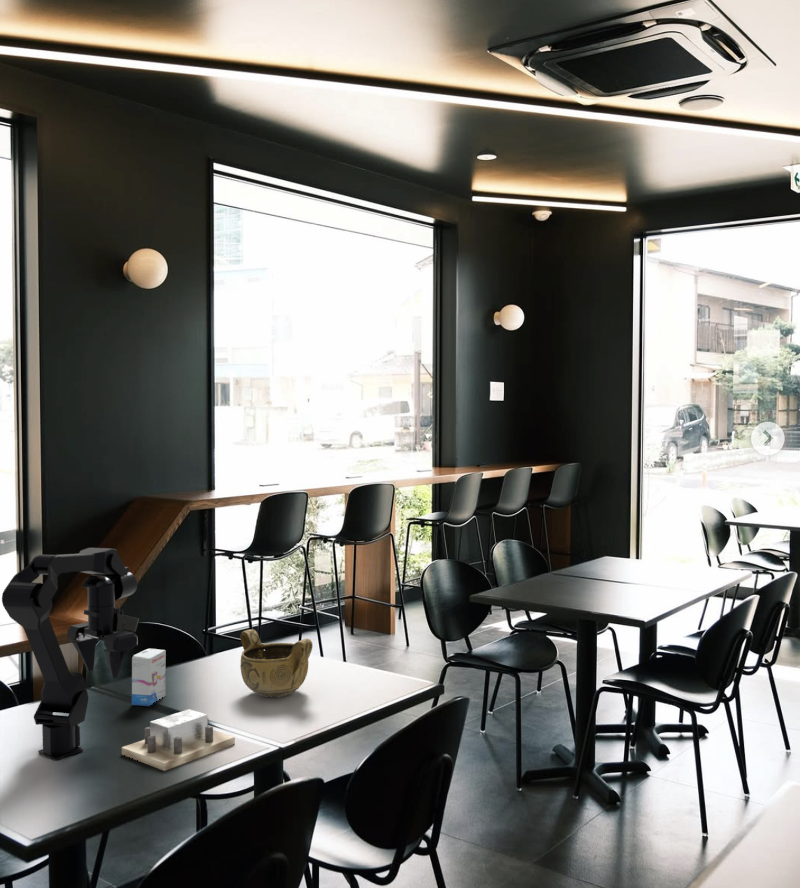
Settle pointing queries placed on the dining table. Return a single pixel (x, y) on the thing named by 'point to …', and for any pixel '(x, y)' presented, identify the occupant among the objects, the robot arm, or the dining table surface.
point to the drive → (179, 729)
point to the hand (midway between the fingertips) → (102, 674)
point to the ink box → (148, 676)
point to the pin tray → (177, 759)
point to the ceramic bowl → (273, 665)
